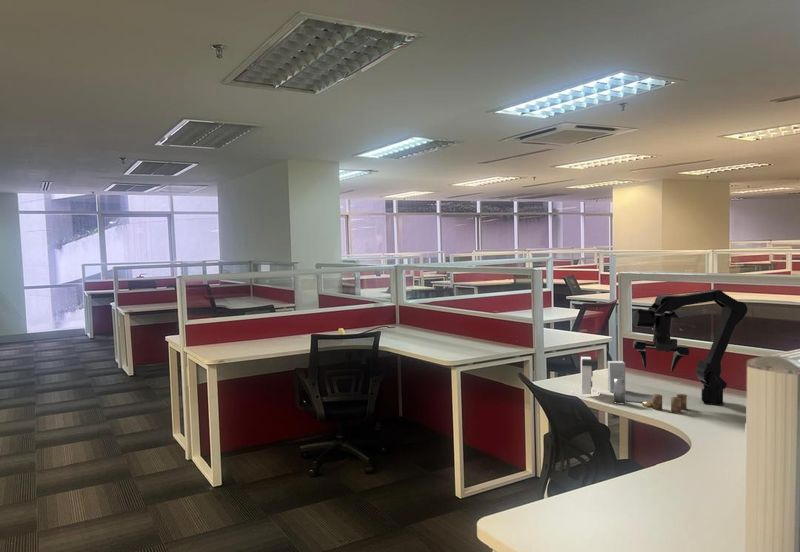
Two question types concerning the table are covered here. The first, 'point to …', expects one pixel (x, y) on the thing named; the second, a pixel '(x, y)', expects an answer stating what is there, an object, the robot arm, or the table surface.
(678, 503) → the table surface
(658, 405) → the spacer
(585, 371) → the narrow upright pillar
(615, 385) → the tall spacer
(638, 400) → the mat
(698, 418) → the table surface
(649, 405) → the nut
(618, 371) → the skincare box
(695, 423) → the table surface
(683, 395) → the spacer
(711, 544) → the table surface
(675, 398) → the spacer
